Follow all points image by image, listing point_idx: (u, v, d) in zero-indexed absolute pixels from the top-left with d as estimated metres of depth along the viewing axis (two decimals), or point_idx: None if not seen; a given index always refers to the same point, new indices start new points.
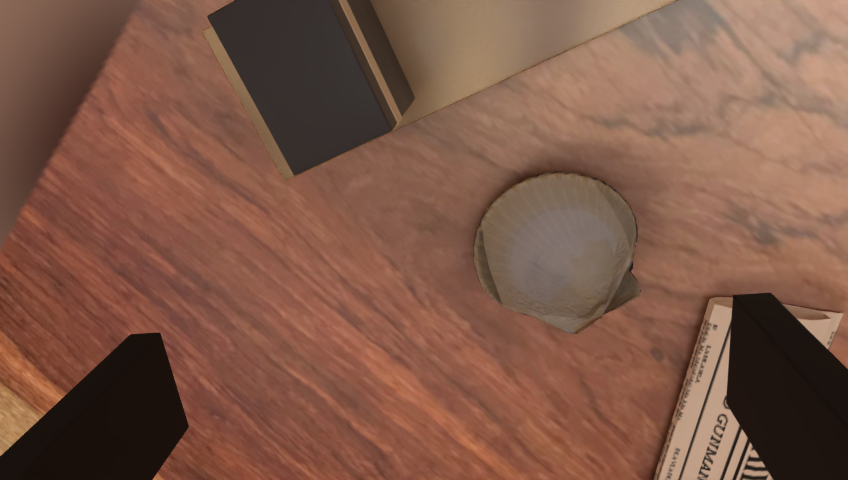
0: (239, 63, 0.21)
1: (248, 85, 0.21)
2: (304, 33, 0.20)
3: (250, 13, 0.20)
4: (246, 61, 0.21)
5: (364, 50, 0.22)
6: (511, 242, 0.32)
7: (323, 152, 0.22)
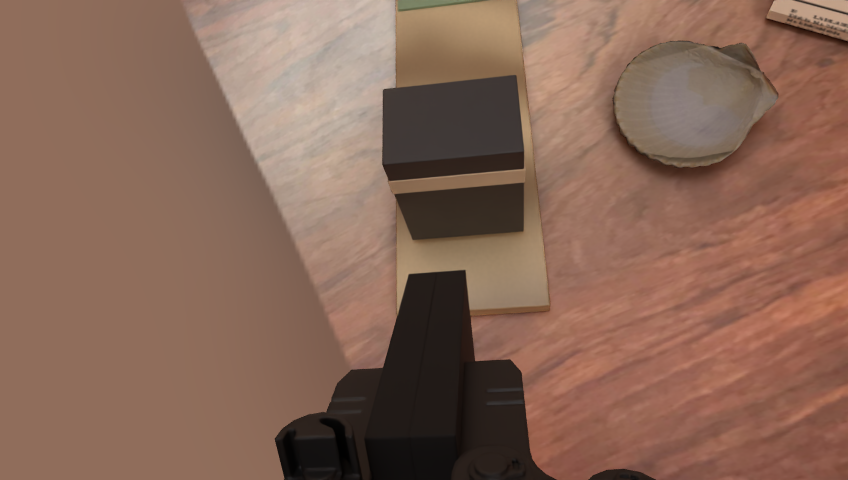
0: (423, 155, 0.26)
1: (441, 156, 0.26)
2: (424, 107, 0.27)
3: (395, 135, 0.26)
4: (424, 150, 0.26)
5: None
6: (673, 141, 0.34)
7: (513, 123, 0.26)
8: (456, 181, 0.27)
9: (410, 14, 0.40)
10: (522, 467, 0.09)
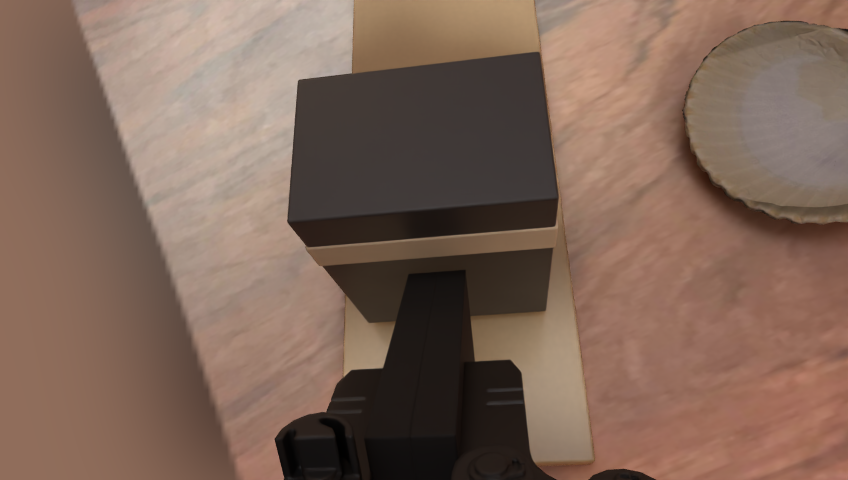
0: (363, 205, 0.14)
1: (398, 207, 0.13)
2: (370, 111, 0.15)
3: (314, 165, 0.14)
4: (366, 195, 0.14)
5: None
6: (781, 179, 0.22)
7: (536, 142, 0.14)
8: (430, 247, 0.15)
9: None
10: (522, 468, 0.09)
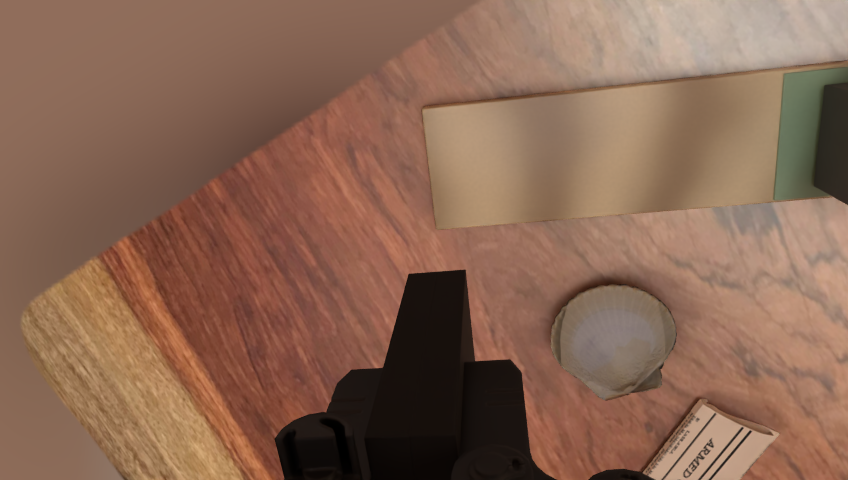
0: None
1: None
2: None
3: None
4: None
5: None
6: (581, 322, 0.42)
7: None
8: None
9: (775, 88, 0.35)
10: (522, 467, 0.09)
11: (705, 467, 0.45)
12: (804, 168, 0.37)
